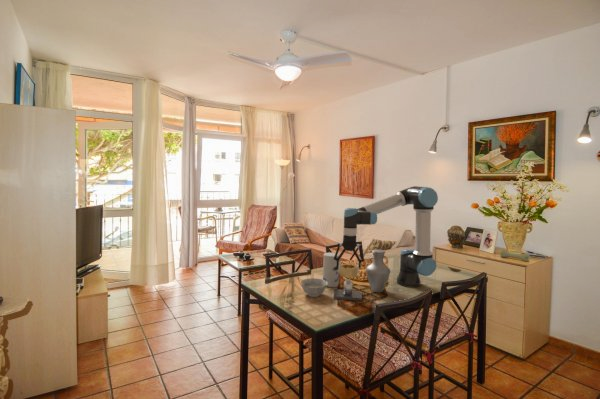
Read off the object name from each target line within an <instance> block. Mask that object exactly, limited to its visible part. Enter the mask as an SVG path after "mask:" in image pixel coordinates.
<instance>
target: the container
mask: <svg viewBox="0 0 600 399" xmlns="http://www.w3.org/2000/svg"><path fill="white" fill-rule="evenodd" d="M335 253H336V252H324V253H323V261H322V262H323V265H322V266H323V268H322V280H325V281H327V283H328V284H327V286H326V288H335V287H338V286H339V279H340V278H339V276H340V272H338V269H339V266H337V261H336V260H334V256H335ZM339 255H340V253H338V254H337V257H336V258H338V257H339Z"/></svg>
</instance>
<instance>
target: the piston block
mask: <svg viewBox="0 0 600 399" xmlns="http://www.w3.org/2000/svg"><path fill="white" fill-rule="evenodd" d="M353 283H354V282H353V281H352V279H348V278H347V279H345V280H344V281H343V289H337V288H335V289H334V291H333V300H345V301H355V302H356V301H358V302H359V301H360V302H363V295H362V291H361V290H353Z"/></svg>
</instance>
